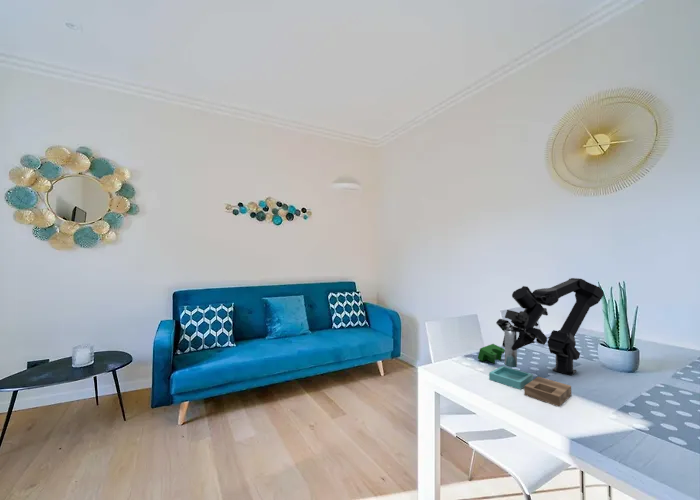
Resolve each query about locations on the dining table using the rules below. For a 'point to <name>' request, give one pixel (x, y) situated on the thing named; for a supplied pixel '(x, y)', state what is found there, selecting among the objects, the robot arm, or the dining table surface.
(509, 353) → the grey capped bottle
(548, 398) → the socket block
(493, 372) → the tray
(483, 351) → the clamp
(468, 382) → the dining table surface
